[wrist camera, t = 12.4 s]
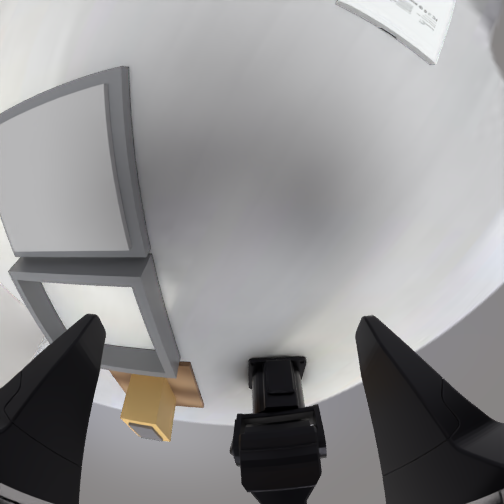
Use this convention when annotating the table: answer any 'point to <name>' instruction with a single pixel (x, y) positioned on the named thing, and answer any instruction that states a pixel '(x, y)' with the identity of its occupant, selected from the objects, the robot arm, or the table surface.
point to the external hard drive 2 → (408, 21)
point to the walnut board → (173, 385)
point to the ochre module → (149, 407)
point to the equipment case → (81, 209)
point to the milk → (16, 336)
